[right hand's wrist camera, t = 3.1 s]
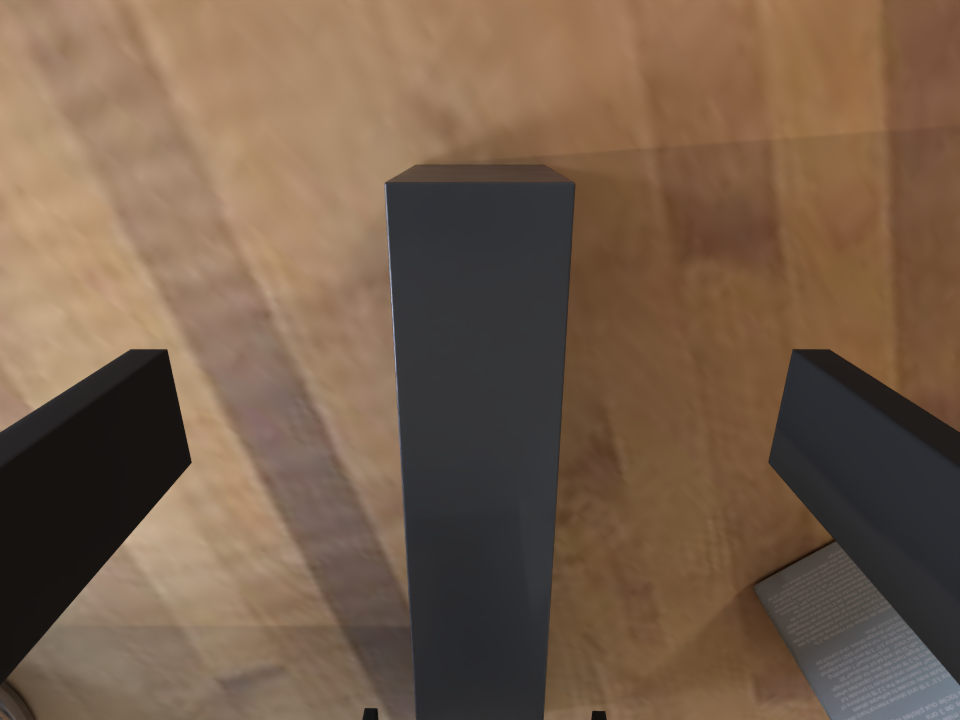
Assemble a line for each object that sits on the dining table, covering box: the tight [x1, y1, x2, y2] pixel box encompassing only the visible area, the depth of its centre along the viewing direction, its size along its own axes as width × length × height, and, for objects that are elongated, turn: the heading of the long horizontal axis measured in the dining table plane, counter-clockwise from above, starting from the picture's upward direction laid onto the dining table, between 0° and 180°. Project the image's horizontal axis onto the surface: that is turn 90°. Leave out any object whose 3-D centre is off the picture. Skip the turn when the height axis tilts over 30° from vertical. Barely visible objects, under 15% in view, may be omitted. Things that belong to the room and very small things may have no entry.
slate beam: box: [384, 165, 575, 720], centre depth 29 cm, size 6×36×9 cm, turn 0°
